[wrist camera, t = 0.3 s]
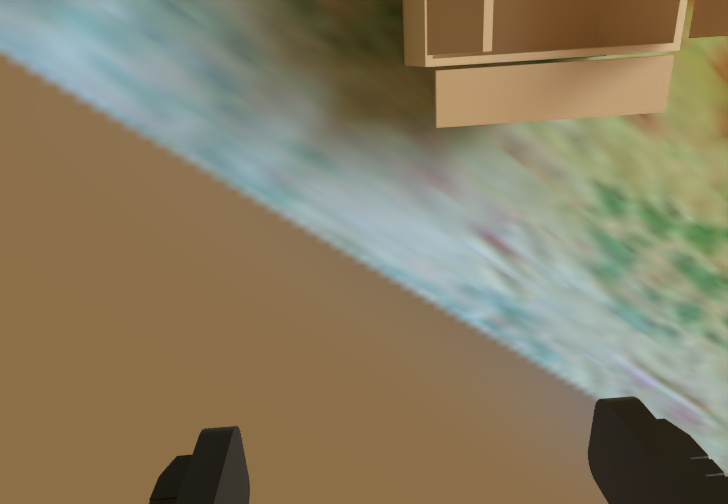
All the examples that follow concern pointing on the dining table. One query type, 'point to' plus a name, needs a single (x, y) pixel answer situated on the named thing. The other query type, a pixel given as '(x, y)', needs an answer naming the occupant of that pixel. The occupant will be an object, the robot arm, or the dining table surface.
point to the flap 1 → (459, 26)
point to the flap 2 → (709, 18)
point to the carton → (554, 80)
